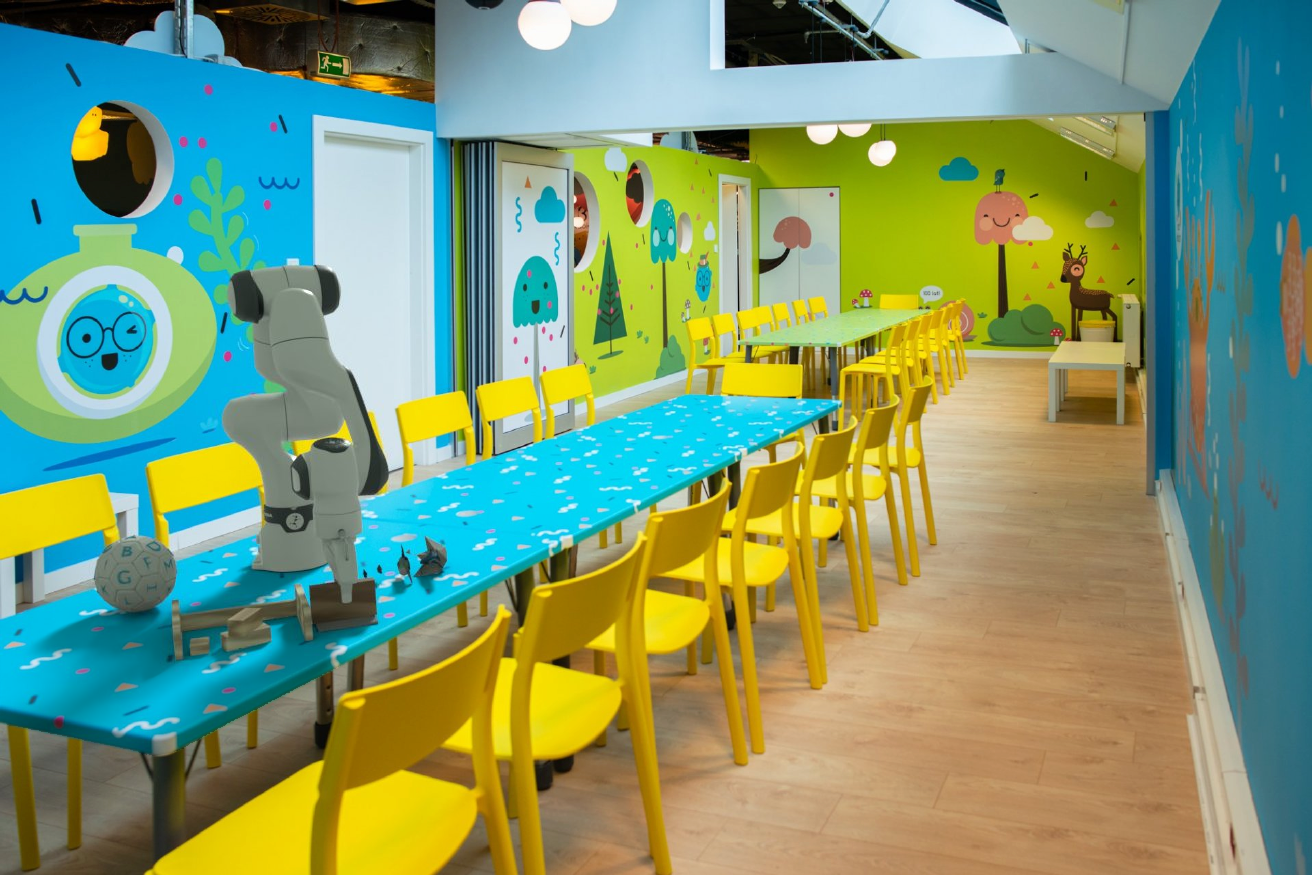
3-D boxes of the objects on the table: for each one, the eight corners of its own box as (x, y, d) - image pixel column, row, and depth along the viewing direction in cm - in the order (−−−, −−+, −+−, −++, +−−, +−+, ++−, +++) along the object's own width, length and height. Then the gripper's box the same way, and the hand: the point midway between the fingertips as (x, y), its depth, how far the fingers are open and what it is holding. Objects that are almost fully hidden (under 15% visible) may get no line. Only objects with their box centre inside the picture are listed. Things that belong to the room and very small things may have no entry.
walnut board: (311, 620, 218) (308, 585, 217) (375, 611, 223) (373, 576, 222) (312, 624, 216) (310, 588, 215) (377, 614, 221) (374, 579, 220)
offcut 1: (192, 649, 206) (190, 638, 206) (209, 647, 207) (208, 636, 207) (190, 656, 203) (189, 646, 202) (208, 654, 204) (207, 643, 203)
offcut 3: (221, 648, 206) (220, 632, 206) (265, 638, 211) (264, 622, 211) (227, 653, 204) (226, 637, 204) (271, 642, 209) (270, 626, 209)
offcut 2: (228, 636, 204) (227, 620, 203) (247, 623, 211) (245, 607, 210) (244, 636, 204) (243, 620, 203) (262, 623, 210) (261, 608, 210)
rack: (174, 630, 216) (171, 599, 215) (302, 612, 225) (300, 583, 223) (175, 660, 200) (172, 627, 199) (313, 639, 209) (310, 608, 208)
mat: (312, 616, 222) (311, 614, 222) (369, 608, 226) (369, 606, 226) (318, 632, 213) (318, 630, 213) (378, 623, 217) (378, 621, 217)
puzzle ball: (188, 595, 237) (181, 525, 235) (169, 619, 222) (162, 544, 220) (111, 600, 235) (103, 529, 232) (86, 624, 220) (78, 549, 218)
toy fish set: (455, 569, 243) (443, 529, 244) (339, 602, 230) (327, 560, 231) (440, 577, 252) (428, 539, 253) (328, 609, 239) (317, 569, 240)
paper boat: (443, 572, 246) (401, 563, 245) (440, 591, 250) (397, 582, 249) (453, 531, 255) (412, 522, 253) (450, 550, 259) (409, 542, 258)
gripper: (363, 535, 208) (368, 608, 211) (347, 511, 227) (352, 578, 229) (327, 539, 206) (333, 613, 208) (314, 514, 224) (319, 582, 227)
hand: (343, 594), depth 219 cm, fingers open, 8 cm apart
